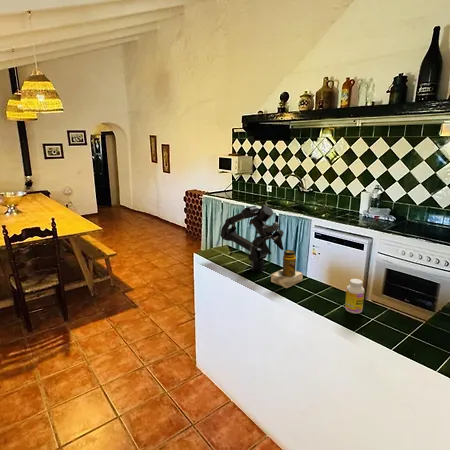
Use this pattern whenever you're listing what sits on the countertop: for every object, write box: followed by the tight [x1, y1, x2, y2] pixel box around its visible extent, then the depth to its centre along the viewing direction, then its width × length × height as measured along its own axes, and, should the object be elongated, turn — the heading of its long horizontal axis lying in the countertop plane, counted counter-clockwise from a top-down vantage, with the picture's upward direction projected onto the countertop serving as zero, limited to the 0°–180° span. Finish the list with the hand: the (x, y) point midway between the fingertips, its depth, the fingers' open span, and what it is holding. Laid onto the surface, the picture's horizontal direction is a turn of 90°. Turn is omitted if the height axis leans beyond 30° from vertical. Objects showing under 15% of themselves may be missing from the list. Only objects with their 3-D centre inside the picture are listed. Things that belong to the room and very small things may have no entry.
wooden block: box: [270, 268, 304, 289], centre depth 157 cm, size 10×12×4 cm
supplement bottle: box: [344, 278, 365, 315], centre depth 128 cm, size 7×7×13 cm
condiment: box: [277, 249, 297, 277], centre depth 155 cm, size 7×8×12 cm
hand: (277, 252), depth 159 cm, fingers open, 9 cm apart
